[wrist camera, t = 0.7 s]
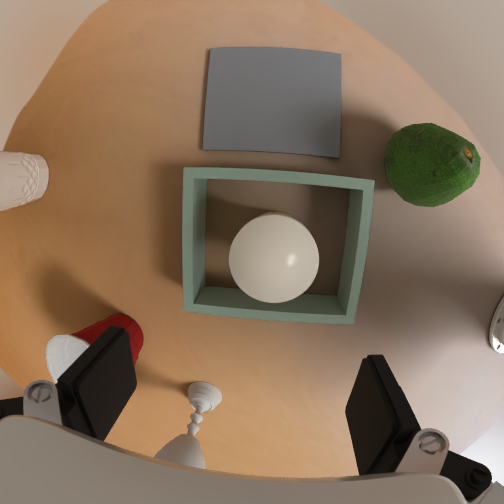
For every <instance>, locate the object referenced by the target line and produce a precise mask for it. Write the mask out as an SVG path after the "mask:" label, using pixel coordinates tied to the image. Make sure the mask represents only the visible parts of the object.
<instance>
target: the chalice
mask: <svg viewBox="0 0 504 504" xmlns="http://www.w3.org/2000/svg"><path fill="white" fill-rule="evenodd" d="M188 397H189V403H190V404H191V406H192V407H193V408H194V409H195V410H196V411H195V412H194V413H193V414H191V415H190V418H191V419H192V422H191V423H190V424H188V425H187V428H188V433H187V434H181V435H179V436H177V437H176V438H174V439H173V440H171V441H170V442H169V443H167V444H166V445H165V446H164V447H163V448H162V449H161V450H160V451H158V452H157V454H156V455H155V457H154V458H157V459H161V460H165V461H169V462H173V463H177V464H182V465H186V466H191V467H196V468H202V469H206V468H205V461H204V457H203V453H202V450H201V447H200V443H199V441H198V440H197V439H196V438H195V437H194V435H195V434H196V432H198V431H199V427H198V424H199V422H202V421H203V417H202V412H208V411H211V410H213V409H214V408H215V407H216V406H217V405H218V404H219V403H220V402H221V400H222V394H221V392H220V391H219V390H218V389H217V388H216V387H215V386H213V385H212V384H209V383H206V382H194V383H192V384H191V385H190V386H189V387H188Z"/></svg>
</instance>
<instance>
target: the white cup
mask: <svg viewBox="0 0 504 504" xmlns="http://www.w3.org/2000/svg"><path fill="white" fill-rule="evenodd" d="M48 181H49V169H48V166H47V163H46V160H45V159H44V158H43V157H42V156H41V155H35V154H27V153H21V152H11V151H0V211H3V210H7V209H10V208H13V207H16V206H20V205H23V204H26V203H28V202H33V201H36V200H38V199H39V198H41V197H42V196H43V194H44V193H45V191H46V189H47V185H48Z"/></svg>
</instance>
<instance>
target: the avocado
mask: <svg viewBox="0 0 504 504" xmlns="http://www.w3.org/2000/svg"><path fill="white" fill-rule="evenodd" d="M480 159H481V158H480V156H479V154H478V152H477V150H476V148H475V146H474V145H473V144H472V143H471V142H469V141H468V140H466V139H464V138H463V137H461V136H459V135H457V134H456V133H454V132H452V131H449V130H447V129H445V128H442V127H440V126H438V125H435V124H433V123H422V124H412V125H409V126H406V127H404V128H402V129H400V130H399V131H397V132H396V133H395V134H394V135H393V137H392V138H391V140H390V141H389V144H388V147H387V151H386V155H385V162H384V164H385V171H386V176H387V178H388V181H389V183H390V185H391V187H392V188H393V189H394V190H395V192H396V193H397V194H398V195H399V196H400V197H401V198H402V199H404V200H405V201H407V202H409V203H411V204H414V205H416V206H426V207H435V206H438V205H441V204H445V203H447V202H449V201H451V200H452V199H454V198H455V197H457V196H458V195H460V194H461V193H463V192H464V191H465V190H467V189H468V188H470V187H471V186H472V185H473V183H474V182H475V180H476V178H477V177H478V175H479V170H480Z"/></svg>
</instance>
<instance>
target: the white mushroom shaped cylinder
mask: <svg viewBox="0 0 504 504" xmlns="http://www.w3.org/2000/svg"><path fill="white" fill-rule="evenodd" d="M229 266H230V271H231V274H232V276H233V278H234V280H235V282H236V284H237V285H238V286H239V287H240V289H242V290H243V291H244V292H245V293H246V294H248V295H249V296H251V297H252V298H254V299H257V300H259V301H263V302H268V303H280V302H285V301H289V300H292V299H294V298H296V297H298V296H299V295H301V294H302V293H303V292H304V291H306V290H307V289H308V287H309V286H310V285H311V284H312V282H313V281H314V279H315V276H316V274H317V271H318V266H319V253H318V248H317V245H316V243H315V241H314V239H313V237H312V235H311V233H310V232H309V231H308V229H307V228H306V227H305V226H304V225H303V224H302V223H301V222H299V221H298V220H296V219H294V218H293V217H291V216H290V215H288V214H286V213H284V212H279V211H271V212H267V213H264V214H262V215H260V216H258V217H256V218H254V219H252V220H250V221H249V222H248V223H246V224H245V225H244V226H243V227H242V228H241V230H240V231H239V232H238V234H237V235H236V237H235V238H234V240H233V242H232V245H231V248H230V252H229Z"/></svg>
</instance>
